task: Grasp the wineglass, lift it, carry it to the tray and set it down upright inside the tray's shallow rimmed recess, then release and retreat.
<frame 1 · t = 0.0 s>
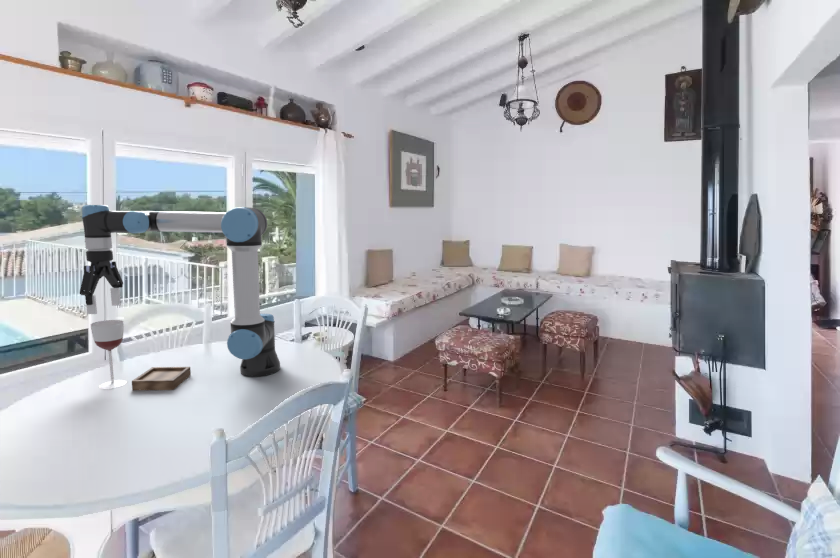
hand: (104, 309, 155), 28 cm above the table, fingers open, 13 cm apart
wineglass: (112, 384, 159), on the table
tray: (162, 382, 162), on the table
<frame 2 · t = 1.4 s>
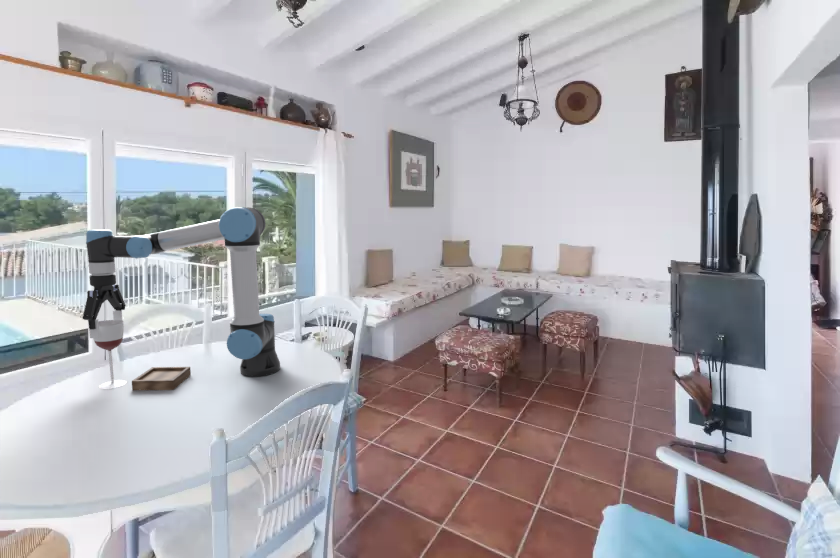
hand: (107, 332, 156), 19 cm above the table, fingers open, 13 cm apart
nothing on the table moved.
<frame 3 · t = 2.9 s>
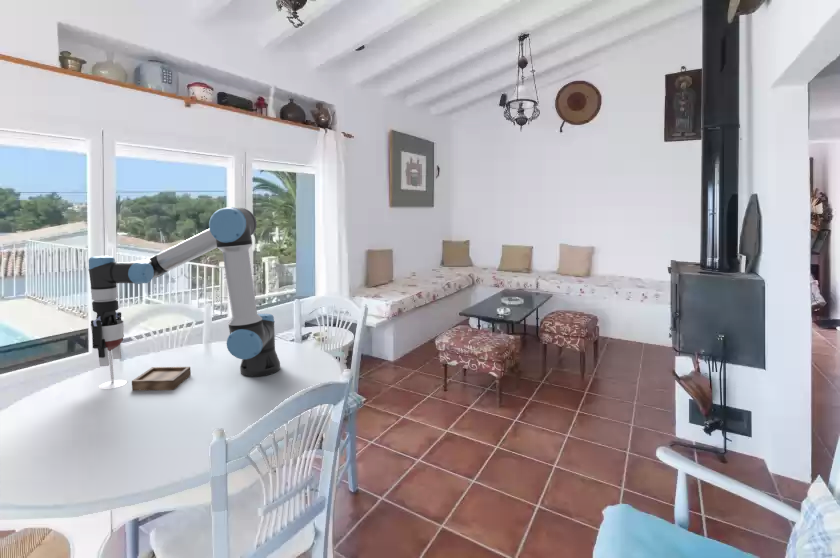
hand: (110, 361, 158), 9 cm above the table, fingers closed on wineglass, 7 cm apart
wineglass: (113, 384, 159), on the table, touching gripper
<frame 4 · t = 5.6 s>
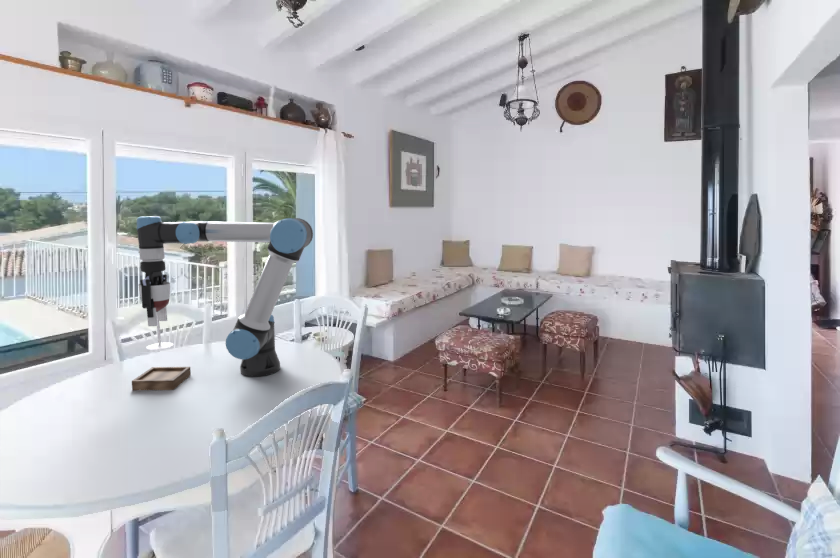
hand: (158, 323, 158), 23 cm above the table, fingers closed on wineglass, 7 cm apart
wineglass: (160, 346, 160), point 14 cm above the table, touching gripper
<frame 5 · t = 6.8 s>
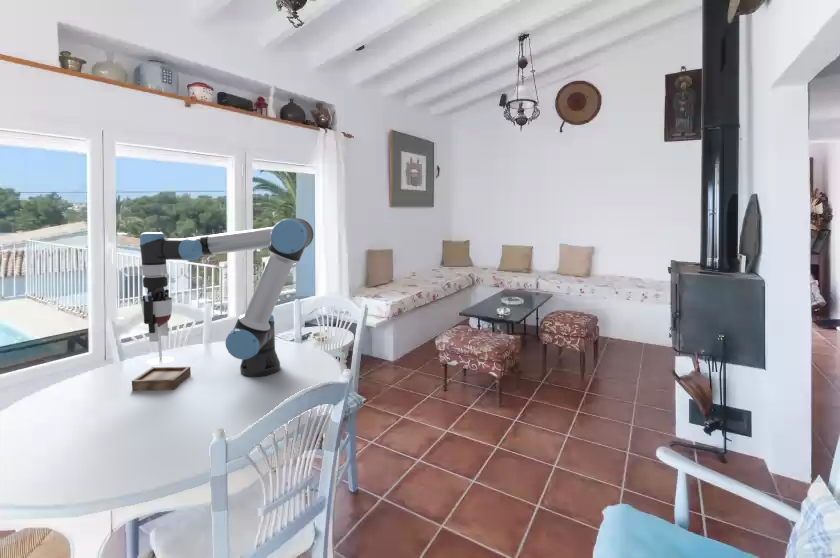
hand: (159, 338, 159), 17 cm above the table, fingers closed on wineglass, 7 cm apart
wineglass: (160, 361, 161), point 8 cm above the table, touching gripper
when the fingers open (13 cm above the table, at t = 8.1 s): wineglass drops 1 cm, resting on tray.
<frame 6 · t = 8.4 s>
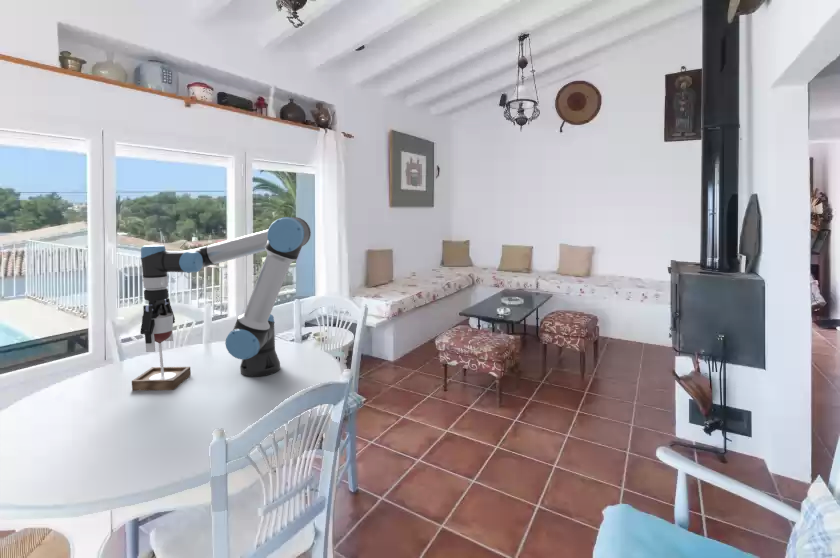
hand: (160, 346, 160), 14 cm above the table, fingers open, 12 cm apart
wineglass: (162, 376, 161), point 2 cm above the table, touching tray
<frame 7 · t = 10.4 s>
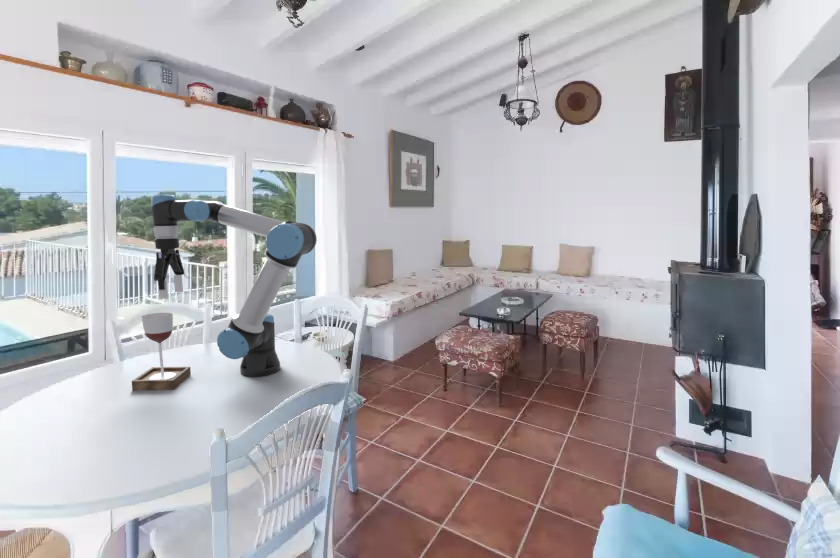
hand: (171, 295, 162), 32 cm above the table, fingers open, 13 cm apart
nothing on the table moved.
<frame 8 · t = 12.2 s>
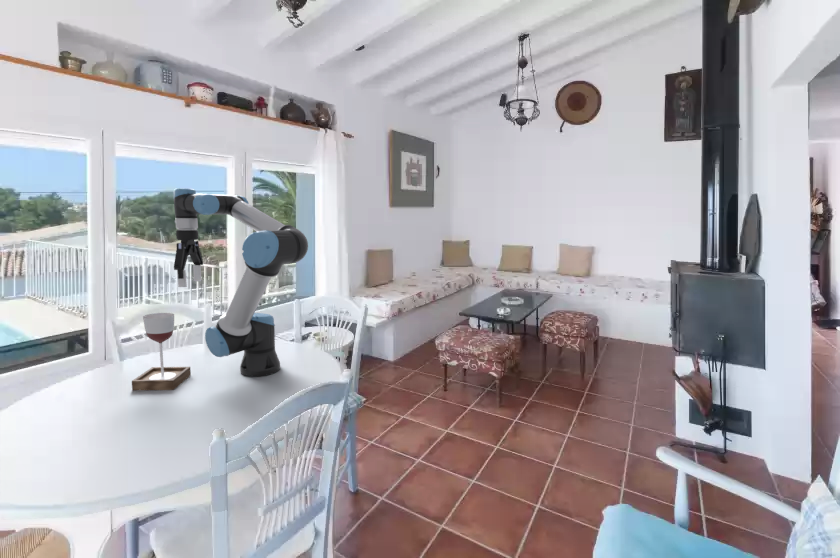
hand: (190, 284, 171), 35 cm above the table, fingers open, 13 cm apart
nothing on the table moved.
at the end: wineglass inside the target area on the tray (0.5 cm from its centre), point 2.3 cm above the tray's base; wineglass tilted 0°; the gripper is holding nothing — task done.
